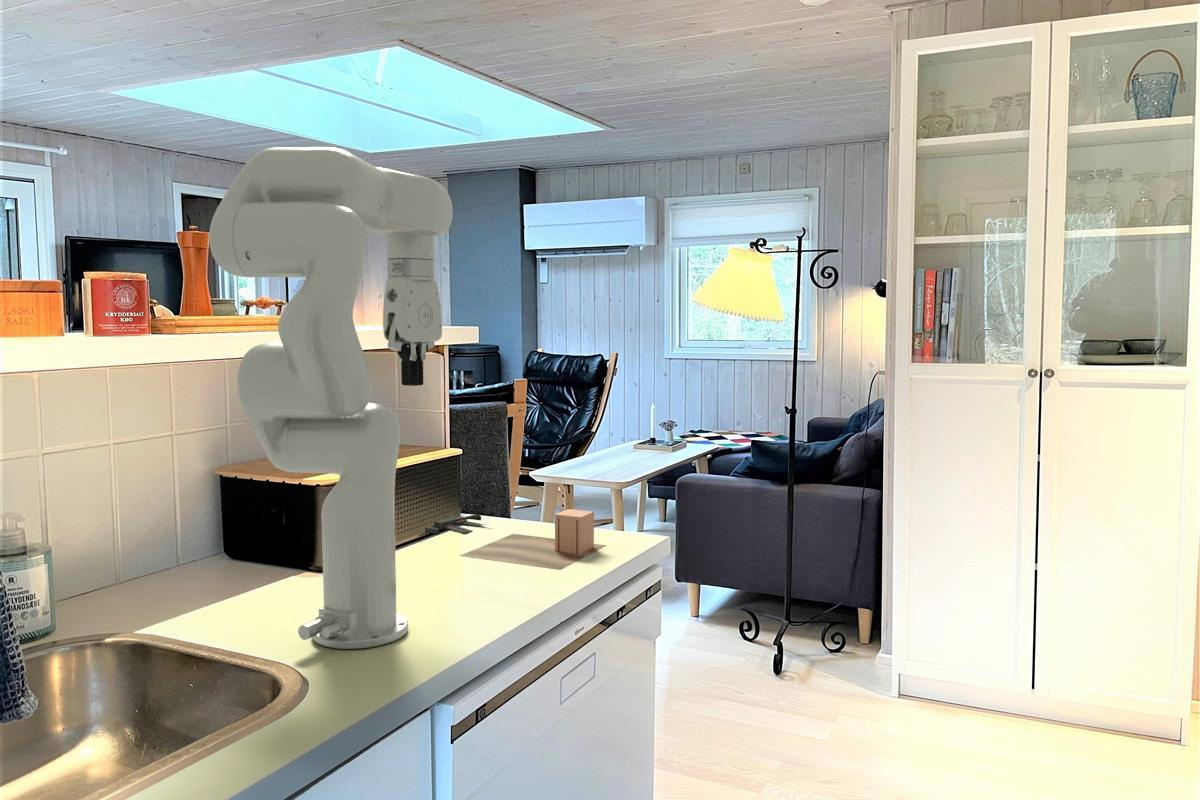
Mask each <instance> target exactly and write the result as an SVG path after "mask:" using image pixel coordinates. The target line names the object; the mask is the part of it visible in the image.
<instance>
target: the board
mask: <svg viewBox="0 0 1200 800" xmlns="http://www.w3.org/2000/svg"><path fill="white" fill-rule="evenodd" d="M607 546H608V545H607V544H601V543H599V544H598V543H594V548H592V549H590V550H588V551H586V552H584V553H582V554H578V553H569V552H562V551H555V538H551V537H545V536H544V537H542V536H536V535H535V536H534V535H527V534H519V533H511V534H509V535H507V536H505V537H502V538H500V539H497V540H494V541H492V542H490V543H488V544H484V545H481V546H480V547H477V548H475V549H473V550H470V551H467V552H465V553H462V554H460V555H459V556H460V557H464V558H465V557H466V558H472V559H481V560H487V561H493V562H501V563H508V564H516V565H522V566H523V565H524V566H529V567H530V566H531V567H538V568H543V569H544V568H545V569H552V570H558V571H561V570H563V569H564V568H567V567H568V566H571V565H572V564H574V563H576V562H578V561H579V560H582V559H584V558H586V557H587V556H589V555H592V554H594V553H595V552H597V551H599V550H601V549H603V548H605V547H607Z"/></svg>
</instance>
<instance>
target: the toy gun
mask: <svg viewBox="0 0 1200 800" xmlns="http://www.w3.org/2000/svg"><path fill="white" fill-rule="evenodd" d="M457 516H458V517H455V518H450V519H445V520H440V521H436V522H434V525H433V526H431V527H425V533H424V534H425V535H428V534H434V535H435V534H439V531H441V530H449V531H452V532H455V533H459V534H462V535H467V534H470V533H471V532H474V531H473V529H468V528H465V527H473V528H482V529H488V527H486V524H484V523H479V522H473V520H474V521H482V516H481V515H480V514H478V513H475V514H471V515H467V516H461V515H457ZM468 520H472V521H468ZM483 525H484V526H483ZM461 526H462V527H461ZM463 526H465V527H463ZM489 529H491V530H493V528H490V527H489Z"/></svg>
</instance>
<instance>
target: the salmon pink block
mask: <svg viewBox="0 0 1200 800" xmlns="http://www.w3.org/2000/svg"><path fill="white" fill-rule="evenodd" d="M554 539H555V551H562V552H569V553H578V554H582V553H584V552H586V551H588V550H590V549H592V548H594V544H595V511H591V510H583V509H582V510H581V509H573V508H572V509H571V508H568V509H565V510H563V511H560V512H557V513H555V514H554Z"/></svg>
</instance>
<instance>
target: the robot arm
mask: <svg viewBox="0 0 1200 800" xmlns="http://www.w3.org/2000/svg"><path fill="white" fill-rule="evenodd" d="M453 213H454V208H453V203H452V199H451V197H450V194H449V192H448V190H447V189H446V188H445V187H444V185H442V184H441V183H439V182H438V181H437V180H435V179H432V178H430V177H426V176H422V175H419V174H418V175H417V174H411V173H407V172H402V171H397V170H394V169H389V168H383V167H378V166H374V165H373V164H371V163H369V162H367V161H365V160H364V159H362V158H360V157H358V156H357V155H355V154H353V153H351V152H349V151H347V150H344V149H342V148H337V147H329V146H328V147H326V146H324V147H322V146H317V147H316V146H311V147H310V146H309V147H307V146H306V147H305V146H303V147H300V146H299V147H269V148H266V149H262V150H260V151H259V152H256V153H255V154H254V155H253V156H252V157H251V158H250V159H249V160H248V161H247V162H246V163H245V164H244V166H243V167H242V168H241V170H240V171H239V173H238V174H237V175H236V176H235V178H234V180H233V182H232V184H231V185H230V186H229V188H228V190H227V191H226V193H225V195H224V196H223V197H222V199H221V201H220V202H219V204H218V206H217V207H216V210H215V212H214V214H213V216H212V219H211V223H210V227H209V234H208V235H209V238H208V239H209V240H208V241H209V247H210V252H211V255H212V257H213V259H214V260H215V262H216V264H217V266H219V268H221V269H222V270H223V271H224V272H226V273H228V274H230V275H233V276H236V277H241V278H242V277H243V278H305V279H304V282H303V284H302V285H301V286H300V288H299V290H298V291H297V292H296V293H295V294H294V295H293V296H292V297H291V299H289V301H288V302H287V304H286V305H285V307H284V309H283V311H282V313H281V314H280V318H279V320H278V323H277V328H278V335H279V338H280V339H279V340H280V341H281V342H265V343H260V344H257V345H255V346H252V347H251V348H250V349H249V350H247V351H246V353H244V355H243V357H242V359H241V361H240V363H239V364H238V365H239V366H238V370H237V371H238V372H237V391H238V397H239V400H240V403H241V406H242V409H243V411H244V413H245V416H246V417H247V419H248V422H249V424H250V425H251V427H252V430H253V431H254V433H255V435H256V438H257V439H258V441H259V444H260V446H261V448H262V449H263V451H264V453H265V455H266V457H267V459H268V460H269V462H270V463H271V464H272V465H273V466H274V467H275V468H276V469H278V470H281V471H283V472H288V473H300V474H302V473H305V474H306V473H307V474H310V473H311V474H332V475H339V479H338V481H337V483H336V484H335V485H334V487H332V488H331V490H330V491H329V493H328V494H327V496H326V497H325V498H324V501H323V504H322V506H321V540H322V541H321V542H322V545H321V546H322V547H321V548H322V581H323V582H322V583H323V584H322V585H323V586H322V587H323V606H320V607H318V616H316V617H315V618H314V619H315V620H313V621H312V620H311V621H309V622H306V623H304V624H301V625H300V626H299V627H298V631H297V633H298V636H299V637H300V639H301V640H303V641H306V640H308V639H311V638H312V640H313V641H314V642H315V643H317V644H319V645H320V646H323V647H327V648H333V649H342V650H343V649H344V650H347V649H348V650H354V649H355V650H356V649H364V648H365V649H367V648H373V647H379V646H381V645H386V644H389V643H392V642H395V641H397V640H399V639H401V638H402V637H403V636H405V635H406V634H407V632H408V630H409V621H408V619H407V618H406V617H405V616H403V615H402V614H399V613H397V575H396V574H397V573H396V571H397V570H396V569H397V568H396V565H397V564H396V561H397V560H396V520H395V519H396V518H395V513H396V512H395V511H396V509H395V493H396V491H395V488H396V474H397V465H398V458H399V451H400V446H401V445H400V444H401V424H400V421H399V418H398V416H397V414H396V413H395V412H394V411H392V410H391V408H389V407H386V406H384V405H382V404H378V403H373V402H370V401H371V399H372V395H373V385H372V378H371V375H370V370H369V366H368V364H367V360H366V358H365V355H364V350H363V348H362V345H361V342H360V340H359V337H358V333H357V331H356V326H355V323H354V315H353V314H354V306H355V302H356V297H357V294H358V290H359V286H360V281H361V277H362V272H363V265H364V260H365V253H366V233H368V234H371V235H373V236H377V237H379V236H380V237H385V238H386V241H385V242H386V281H385V286H384V292H383V307H382V309H383V310H382V328H383V336H384V338H385V340H386V341H387V348H388V349H389V350H391V351H393V352H396V353H397V357H398V360H399V361H400V365H401V385H402V386H410V387H411V386H413V387H417V386H418V387H419V386H423V385H424V361H425V360H426V357H427V353H428V351H429V350H431V349H433V348H435V345H436V344H435V342H438V341H439V340H441V339H442V338H443V337H442V336H443V323H442V322H443V321H442V309H441V307H442V306H441V299H440V298H441V297H440V293H439V292H440V291H439V287H438V284H437V281H435V236H441V235H444V234H445V233H446V232H448V230H450V229H449V228H450V227H451V224H452V221H453V216H454V214H453Z"/></svg>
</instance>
